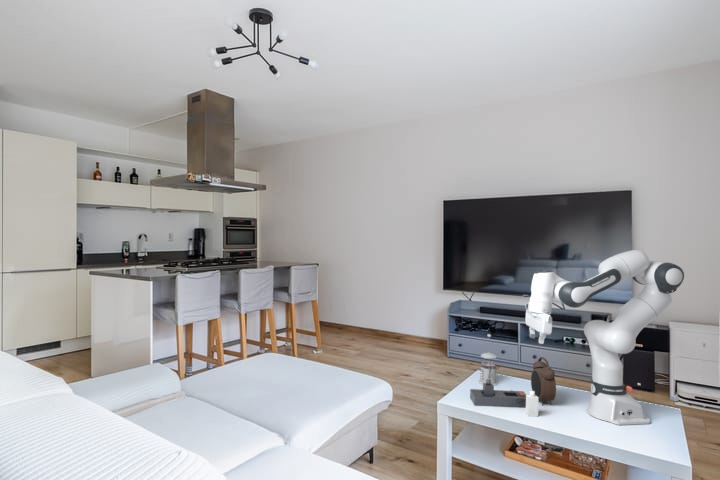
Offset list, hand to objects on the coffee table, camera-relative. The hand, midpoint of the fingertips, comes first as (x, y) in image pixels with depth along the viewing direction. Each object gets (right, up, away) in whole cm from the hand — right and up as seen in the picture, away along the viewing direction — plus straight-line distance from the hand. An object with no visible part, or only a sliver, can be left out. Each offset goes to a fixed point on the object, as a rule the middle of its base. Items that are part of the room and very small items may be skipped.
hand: (536, 340), depth 173 cm
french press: (-9, -31, +36) cm, 49 cm away
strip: (-12, -31, +11) cm, 35 cm away
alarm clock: (+8, -31, +13) cm, 35 cm away
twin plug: (-17, -31, +11) cm, 37 cm away
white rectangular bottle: (-2, -31, -1) cm, 31 cm away
